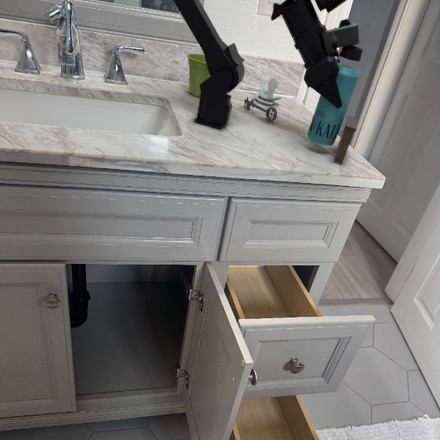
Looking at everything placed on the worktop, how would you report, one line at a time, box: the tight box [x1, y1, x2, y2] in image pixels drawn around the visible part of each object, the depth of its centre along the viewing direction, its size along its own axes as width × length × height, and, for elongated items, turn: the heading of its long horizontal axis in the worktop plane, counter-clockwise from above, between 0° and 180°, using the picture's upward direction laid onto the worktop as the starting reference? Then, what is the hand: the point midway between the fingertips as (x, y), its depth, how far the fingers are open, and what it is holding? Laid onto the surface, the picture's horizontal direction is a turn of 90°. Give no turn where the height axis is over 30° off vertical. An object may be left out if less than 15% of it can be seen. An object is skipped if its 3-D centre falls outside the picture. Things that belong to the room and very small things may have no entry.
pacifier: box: [254, 77, 282, 106], centre depth 115 cm, size 7×6×6 cm
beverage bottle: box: [306, 45, 364, 147], centre depth 87 cm, size 6×7×20 cm
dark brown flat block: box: [333, 114, 358, 165], centre depth 91 cm, size 2×9×8 cm, turn 164°
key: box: [243, 96, 278, 122], centre depth 105 cm, size 12×1×3 cm, turn 39°
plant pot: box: [186, 52, 210, 98], centre depth 109 cm, size 9×9×9 cm
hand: (340, 103), depth 87 cm, fingers closed on beverage bottle, 6 cm apart
